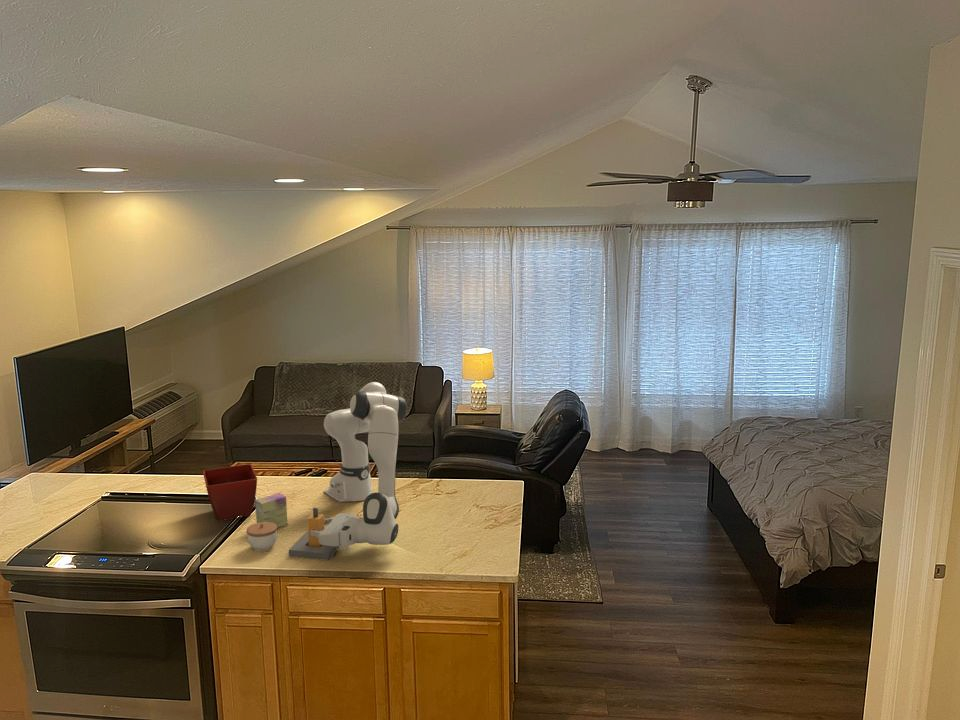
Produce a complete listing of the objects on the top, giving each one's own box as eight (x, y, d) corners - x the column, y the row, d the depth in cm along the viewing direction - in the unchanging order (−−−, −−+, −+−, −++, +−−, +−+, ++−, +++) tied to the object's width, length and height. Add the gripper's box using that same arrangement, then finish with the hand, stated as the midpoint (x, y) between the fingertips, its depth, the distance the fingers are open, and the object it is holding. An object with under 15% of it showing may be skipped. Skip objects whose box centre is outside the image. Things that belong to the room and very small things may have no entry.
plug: (308, 549, 265) (307, 510, 262) (313, 544, 269) (312, 505, 266) (320, 550, 264) (318, 511, 261) (325, 545, 268) (323, 506, 265)
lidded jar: (278, 552, 264) (277, 527, 262) (247, 555, 261) (245, 531, 259) (277, 539, 274) (276, 516, 272) (247, 543, 271) (246, 519, 269)
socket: (288, 556, 261) (288, 549, 260) (306, 538, 275) (305, 532, 275) (328, 560, 258) (328, 553, 258) (344, 541, 272) (343, 535, 272)
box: (280, 520, 291) (278, 492, 289) (287, 524, 287) (286, 496, 285) (256, 528, 284) (254, 499, 282) (263, 532, 280) (261, 503, 278)
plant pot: (209, 526, 285) (206, 485, 282) (205, 508, 302) (202, 470, 299) (259, 518, 293) (257, 478, 290) (253, 501, 310) (251, 463, 307)
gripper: (362, 510, 272) (327, 507, 274) (342, 533, 252) (304, 530, 254) (363, 526, 273) (328, 523, 275) (343, 550, 253) (305, 547, 256)
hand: (316, 526), depth 265 cm, fingers open, 8 cm apart
